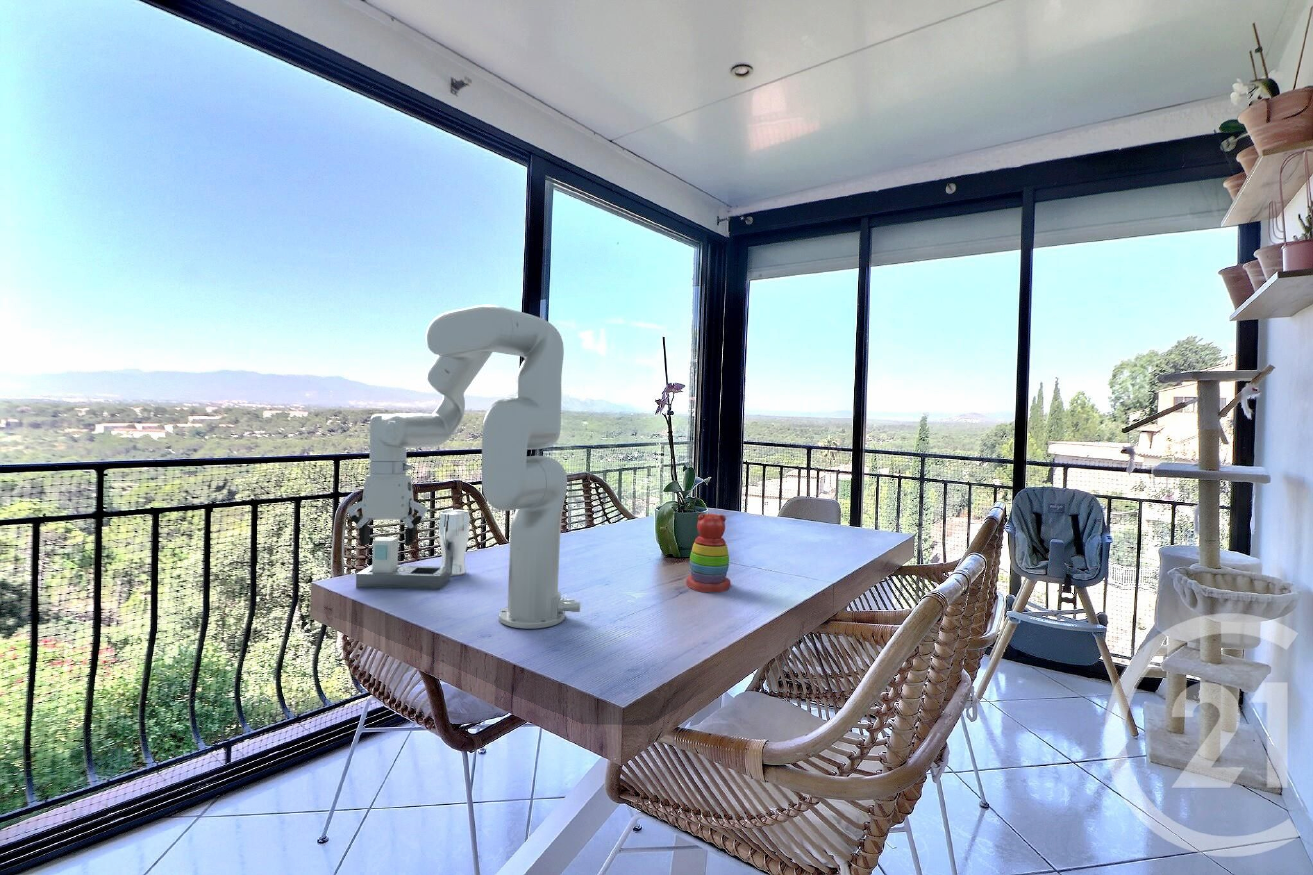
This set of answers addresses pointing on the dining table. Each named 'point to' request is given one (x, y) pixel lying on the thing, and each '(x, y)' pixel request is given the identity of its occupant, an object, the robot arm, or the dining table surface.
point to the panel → (405, 578)
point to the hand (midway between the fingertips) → (387, 544)
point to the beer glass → (454, 540)
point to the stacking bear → (709, 556)
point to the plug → (385, 555)
